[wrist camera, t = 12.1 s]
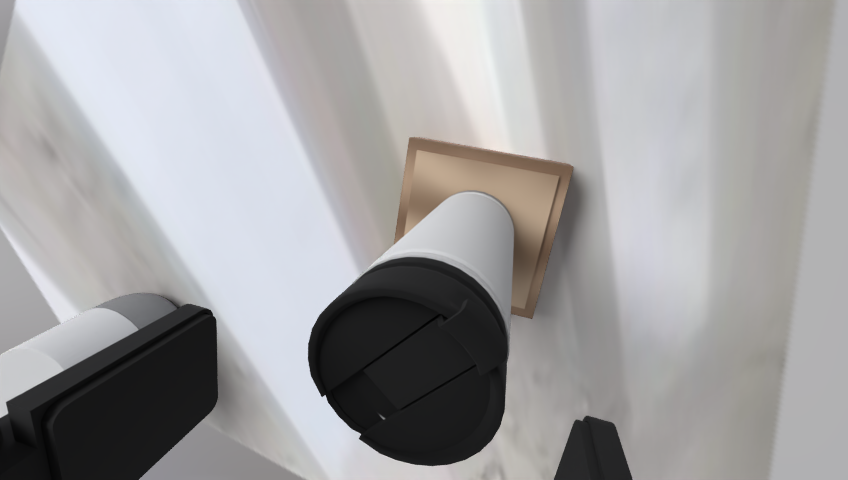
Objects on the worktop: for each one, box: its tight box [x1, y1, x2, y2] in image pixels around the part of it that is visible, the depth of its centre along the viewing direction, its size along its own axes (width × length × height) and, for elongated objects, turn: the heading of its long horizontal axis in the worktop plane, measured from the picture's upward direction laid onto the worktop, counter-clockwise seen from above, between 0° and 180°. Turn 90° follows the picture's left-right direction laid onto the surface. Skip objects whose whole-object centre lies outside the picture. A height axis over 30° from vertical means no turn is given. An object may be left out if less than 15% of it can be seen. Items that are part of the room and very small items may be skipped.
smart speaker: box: [0, 293, 178, 418], centre depth 37 cm, size 10×9×14 cm
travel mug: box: [308, 190, 514, 466], centre depth 20 cm, size 6×7×20 cm
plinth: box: [394, 137, 573, 319], centre depth 31 cm, size 12×12×3 cm
